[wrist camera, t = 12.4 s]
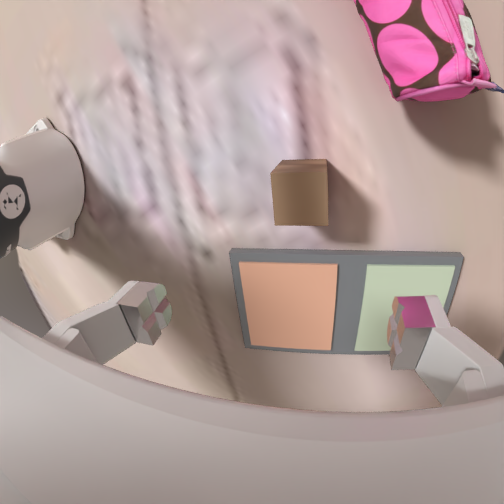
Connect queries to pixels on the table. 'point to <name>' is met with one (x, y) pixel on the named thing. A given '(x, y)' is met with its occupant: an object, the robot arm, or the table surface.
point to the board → (332, 295)
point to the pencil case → (426, 48)
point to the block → (300, 192)
